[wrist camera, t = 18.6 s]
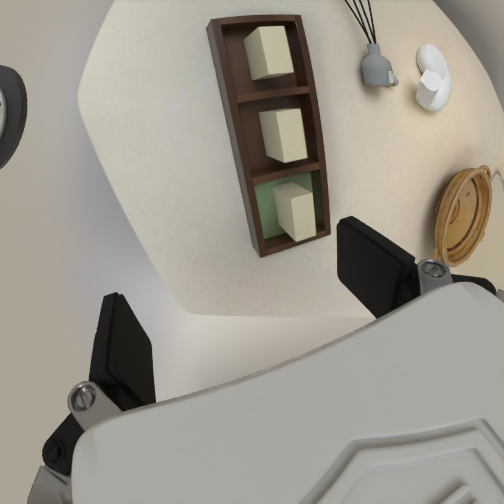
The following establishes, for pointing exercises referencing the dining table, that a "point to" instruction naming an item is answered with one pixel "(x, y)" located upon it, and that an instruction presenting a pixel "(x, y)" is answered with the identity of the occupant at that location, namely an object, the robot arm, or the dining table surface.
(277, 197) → the cream rectangular block
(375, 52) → the reed diffuser
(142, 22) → the dining table surface
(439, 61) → the sculpture
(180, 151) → the dining table surface
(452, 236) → the ceramic bowl
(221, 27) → the tray
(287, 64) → the block
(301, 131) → the block
